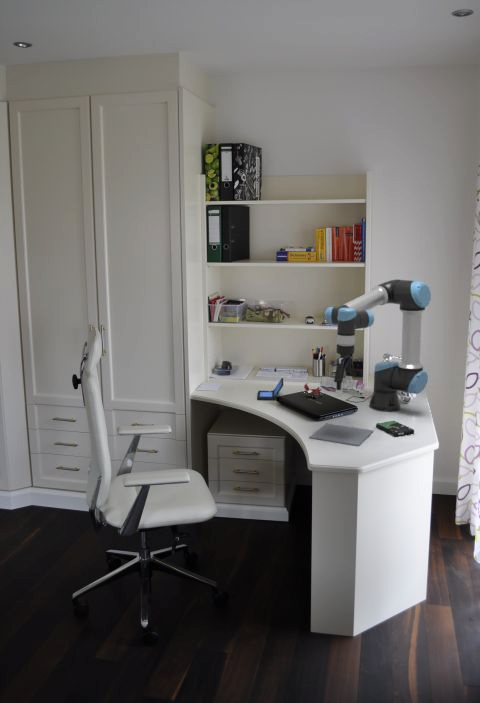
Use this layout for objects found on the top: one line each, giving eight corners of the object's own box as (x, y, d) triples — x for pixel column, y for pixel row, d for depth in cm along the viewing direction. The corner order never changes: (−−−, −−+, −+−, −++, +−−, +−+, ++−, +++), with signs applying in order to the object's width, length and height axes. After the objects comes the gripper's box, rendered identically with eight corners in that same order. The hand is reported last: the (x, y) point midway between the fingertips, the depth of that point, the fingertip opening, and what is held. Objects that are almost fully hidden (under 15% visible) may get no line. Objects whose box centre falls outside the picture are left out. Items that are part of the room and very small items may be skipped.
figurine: (330, 400, 351) (330, 387, 349) (310, 402, 346) (310, 389, 345) (316, 393, 364) (316, 381, 363) (297, 395, 360) (297, 383, 359)
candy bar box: (329, 380, 300) (364, 384, 293) (327, 391, 299) (363, 395, 292) (321, 375, 290) (358, 379, 283) (319, 386, 289) (356, 391, 282)
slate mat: (326, 424, 310) (326, 423, 310) (373, 431, 300) (373, 430, 300) (309, 438, 291) (309, 436, 290) (358, 446, 281) (358, 445, 281)
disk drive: (414, 435, 297) (393, 425, 311) (414, 429, 297) (394, 420, 310) (395, 438, 293) (375, 428, 306) (395, 432, 292) (375, 422, 306)
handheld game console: (258, 393, 365) (258, 376, 363) (282, 393, 364) (283, 377, 362) (257, 400, 349) (257, 383, 347) (283, 401, 349) (283, 384, 347)
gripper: (346, 339, 299) (344, 386, 304) (327, 348, 278) (325, 399, 283) (362, 340, 296) (360, 388, 300) (345, 350, 275) (343, 401, 279)
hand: (343, 393), depth 292 cm, fingers closed on candy bar box, 12 cm apart
